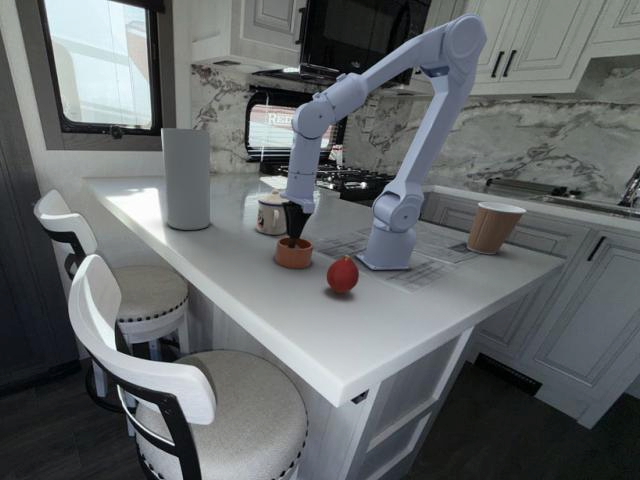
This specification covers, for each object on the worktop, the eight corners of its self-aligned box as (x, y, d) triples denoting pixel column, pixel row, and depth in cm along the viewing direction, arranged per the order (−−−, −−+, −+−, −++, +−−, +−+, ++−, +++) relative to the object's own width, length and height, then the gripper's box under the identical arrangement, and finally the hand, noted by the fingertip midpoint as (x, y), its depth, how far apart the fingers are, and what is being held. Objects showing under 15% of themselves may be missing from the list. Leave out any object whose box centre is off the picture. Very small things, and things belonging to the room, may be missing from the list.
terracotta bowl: (303, 254, 76) (306, 236, 74) (315, 268, 69) (318, 249, 67) (271, 254, 75) (273, 236, 73) (280, 268, 68) (282, 249, 66)
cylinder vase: (175, 233, 85) (169, 130, 72) (162, 220, 94) (155, 127, 81) (216, 228, 90) (217, 132, 77) (200, 217, 99) (199, 129, 87)
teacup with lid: (254, 225, 95) (257, 186, 89) (283, 226, 95) (288, 187, 89) (258, 238, 84) (261, 195, 78) (290, 239, 85) (296, 196, 79)
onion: (331, 283, 63) (339, 246, 59) (358, 292, 60) (369, 254, 56) (318, 293, 59) (326, 254, 55) (346, 303, 56) (357, 264, 52)
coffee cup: (511, 255, 83) (535, 210, 77) (487, 258, 80) (510, 212, 74) (475, 242, 92) (494, 201, 85) (451, 245, 88) (469, 202, 82)
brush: (295, 255, 73) (301, 220, 68) (298, 259, 71) (304, 223, 66) (281, 255, 72) (285, 220, 68) (283, 259, 70) (288, 223, 66)
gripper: (274, 166, 67) (268, 226, 74) (294, 178, 55) (284, 248, 62) (305, 167, 69) (296, 226, 75) (330, 179, 56) (317, 248, 63)
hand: (292, 236), depth 69 cm, fingers closed on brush, 1 cm apart
